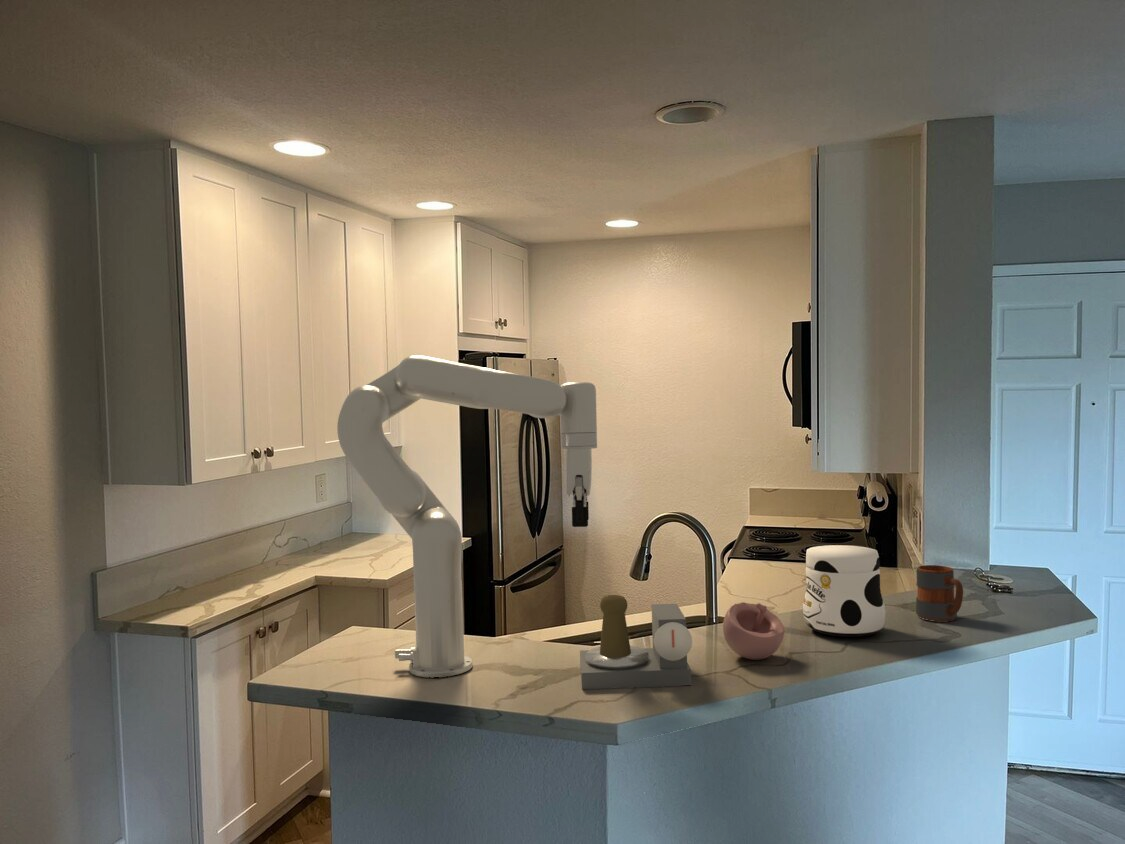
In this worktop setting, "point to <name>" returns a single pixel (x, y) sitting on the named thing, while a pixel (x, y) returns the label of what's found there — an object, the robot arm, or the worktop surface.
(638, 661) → the scale pan
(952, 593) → the mug
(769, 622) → the mortar and pestle
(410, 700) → the worktop surface
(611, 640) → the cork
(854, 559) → the milk container
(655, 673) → the scale
